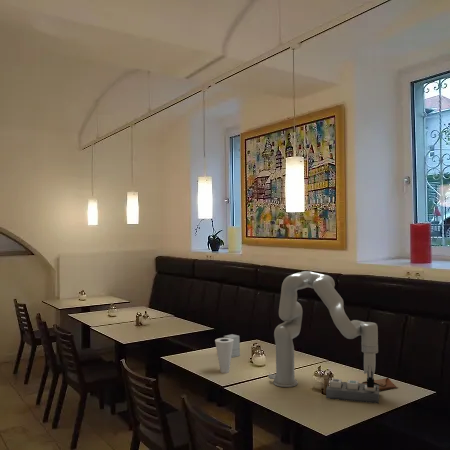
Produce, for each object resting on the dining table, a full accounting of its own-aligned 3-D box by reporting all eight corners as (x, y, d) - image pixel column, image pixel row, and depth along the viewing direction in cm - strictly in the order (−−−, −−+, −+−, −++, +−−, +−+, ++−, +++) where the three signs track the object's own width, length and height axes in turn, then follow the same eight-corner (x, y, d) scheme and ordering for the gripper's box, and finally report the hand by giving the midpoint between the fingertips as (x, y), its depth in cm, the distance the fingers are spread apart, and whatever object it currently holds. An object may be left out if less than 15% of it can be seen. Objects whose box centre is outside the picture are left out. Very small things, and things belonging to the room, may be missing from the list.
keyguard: (326, 398, 240) (326, 389, 240) (329, 389, 253) (329, 380, 253) (378, 403, 233) (378, 393, 233) (379, 394, 245) (379, 384, 245)
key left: (330, 389, 244) (330, 381, 244) (331, 386, 249) (331, 378, 248) (340, 390, 242) (340, 382, 242) (341, 387, 247) (341, 379, 247)
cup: (234, 369, 290) (234, 337, 290) (233, 374, 279) (232, 342, 279) (216, 368, 291) (216, 337, 291) (214, 374, 280) (213, 342, 280)
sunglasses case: (371, 393, 246) (366, 379, 249) (363, 396, 252) (359, 383, 255) (399, 388, 254) (394, 374, 257) (391, 391, 259) (386, 378, 262)
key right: (364, 396, 239) (364, 388, 239) (365, 393, 244) (364, 384, 244) (375, 397, 237) (375, 388, 237) (375, 394, 242) (375, 385, 242)
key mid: (347, 391, 241) (347, 382, 241) (348, 388, 246) (347, 379, 246) (357, 392, 240) (357, 383, 240) (358, 388, 245) (358, 380, 244)
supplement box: (232, 353, 324) (232, 333, 323) (240, 355, 318) (239, 335, 318) (223, 355, 319) (223, 335, 319) (231, 358, 313) (230, 337, 313)
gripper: (362, 344, 248) (363, 381, 249) (360, 352, 234) (361, 391, 234) (378, 345, 246) (379, 382, 246) (377, 353, 232) (378, 392, 232)
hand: (370, 386), depth 240 cm, fingers closed
